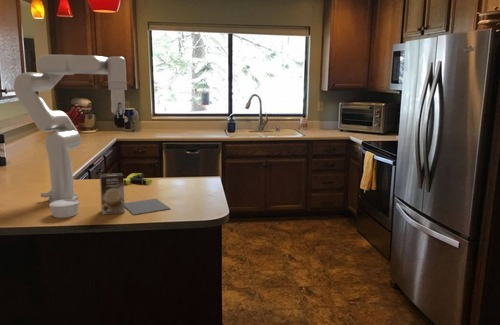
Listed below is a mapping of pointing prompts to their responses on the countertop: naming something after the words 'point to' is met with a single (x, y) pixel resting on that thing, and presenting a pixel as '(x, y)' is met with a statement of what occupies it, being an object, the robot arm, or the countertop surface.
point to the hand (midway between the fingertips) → (119, 126)
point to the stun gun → (137, 179)
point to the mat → (145, 206)
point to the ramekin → (64, 208)
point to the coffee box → (112, 193)
